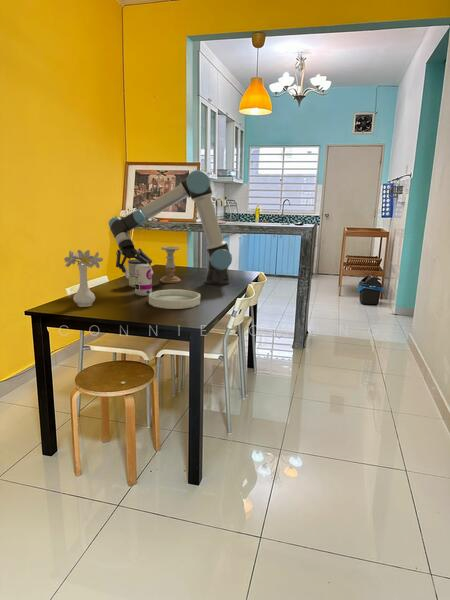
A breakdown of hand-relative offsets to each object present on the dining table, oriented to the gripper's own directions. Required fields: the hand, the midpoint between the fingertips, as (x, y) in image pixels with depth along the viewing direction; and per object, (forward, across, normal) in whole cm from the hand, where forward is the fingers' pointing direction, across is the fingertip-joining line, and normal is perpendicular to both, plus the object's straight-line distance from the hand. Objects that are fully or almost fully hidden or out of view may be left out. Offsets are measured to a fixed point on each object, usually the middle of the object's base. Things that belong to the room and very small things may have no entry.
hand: (140, 275), depth 208 cm
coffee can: (-6, -10, -20) cm, 23 cm away
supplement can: (+8, -1, -6) cm, 10 cm away
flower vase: (+10, +32, -3) cm, 34 cm away
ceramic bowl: (+24, -4, +11) cm, 27 cm away
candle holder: (-6, -31, -19) cm, 37 cm away
